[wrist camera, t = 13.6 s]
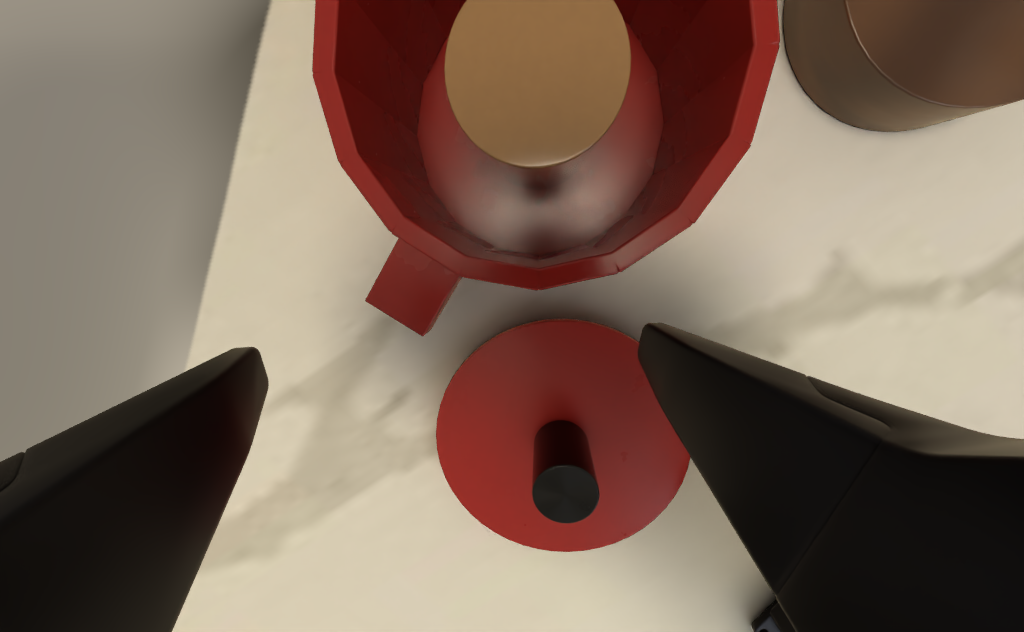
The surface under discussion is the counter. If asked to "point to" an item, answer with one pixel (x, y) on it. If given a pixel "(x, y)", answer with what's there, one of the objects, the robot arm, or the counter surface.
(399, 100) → the pot
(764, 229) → the counter surface
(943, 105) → the walnut block
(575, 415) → the lid
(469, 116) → the jar
